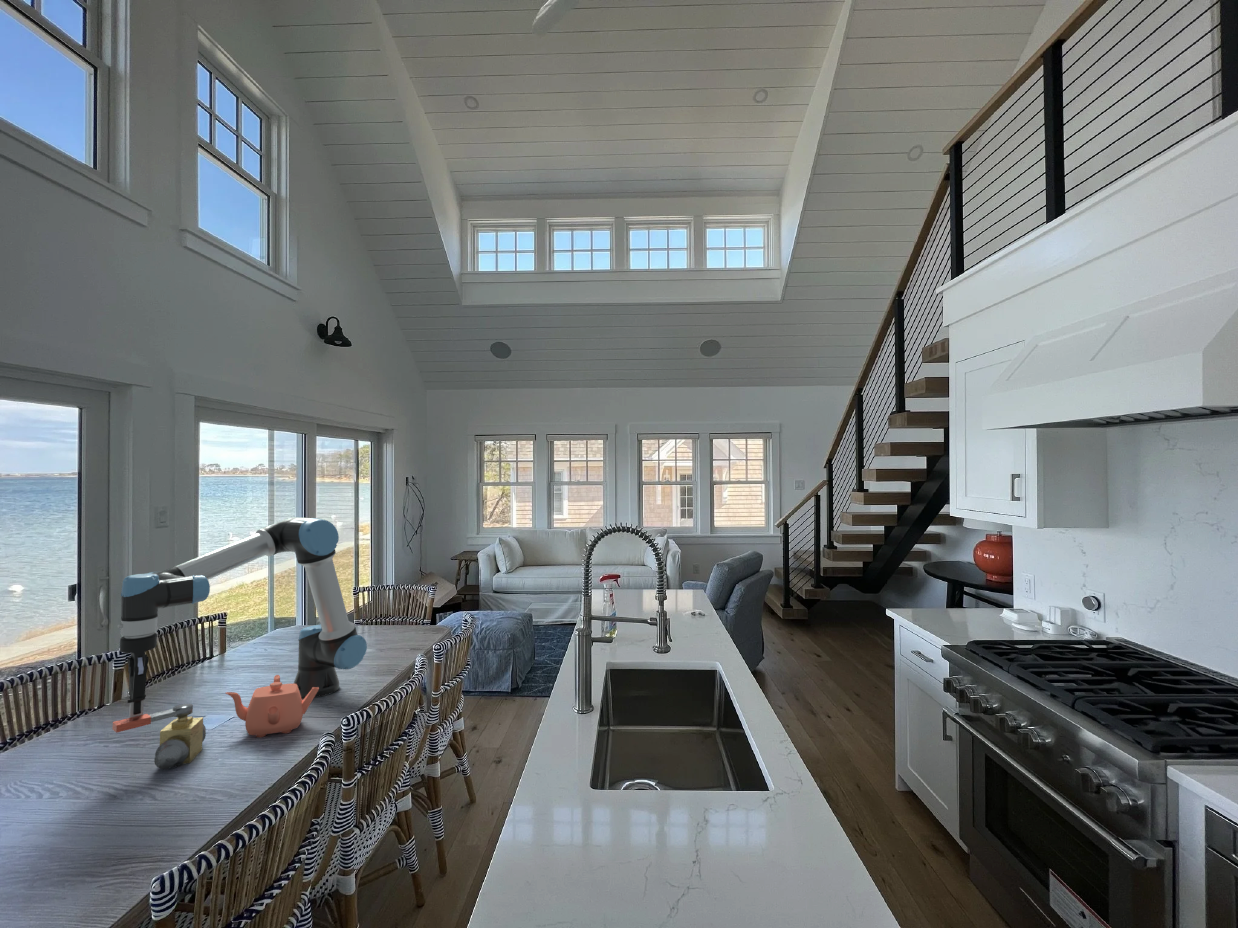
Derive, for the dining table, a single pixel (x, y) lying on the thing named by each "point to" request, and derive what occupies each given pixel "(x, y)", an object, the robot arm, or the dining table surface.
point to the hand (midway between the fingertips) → (135, 725)
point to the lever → (151, 718)
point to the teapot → (273, 708)
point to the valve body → (180, 742)
